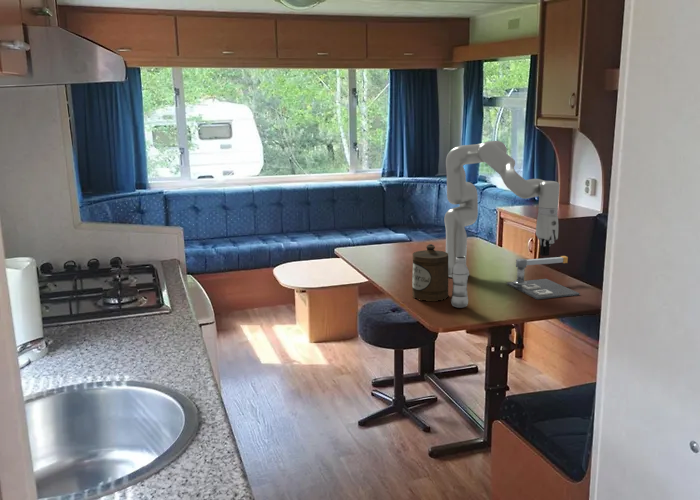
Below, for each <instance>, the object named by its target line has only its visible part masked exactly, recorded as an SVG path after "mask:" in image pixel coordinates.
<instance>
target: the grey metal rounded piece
mask: <svg viewBox="0 0 700 500" xmlns="http://www.w3.org/2000/svg"><path fill="white" fill-rule="evenodd" d="M516 268H517V270H516V271H517V272H516V279H515V280H513V281H512V282H513V283H514V284H516V285H527V281H528V280H525V269H526V268H518V267H516Z"/></svg>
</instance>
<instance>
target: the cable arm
mask: <svg viewBox="0 0 700 500" xmlns="http://www.w3.org/2000/svg"><path fill="white" fill-rule="evenodd" d="M568 260H569V257H568V256H566V255H560V256H558V257H557V256H555V257H543V258H530V259H525V258H516V259H515V267H516V268H525V269H526V268H527V266H535V265H549V264H550V265H551V264H559V263H562V264H568Z"/></svg>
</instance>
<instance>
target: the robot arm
mask: <svg viewBox="0 0 700 500" xmlns="http://www.w3.org/2000/svg"><path fill="white" fill-rule="evenodd" d="M507 152H508V149H507V146H506V144H505V143H504V142H502V141H500V140H490V141H489V140H488V141H484V142H482V143H477V144H476V143H475V144H462V145H459V146H454V148H452V149H450V151H449V152H448V153H447V155H446V158H445V168H446V169H445V170H446V171H445V172H446V198H447V200H448V202H449V204H451V205H459V206H457V207H455V206H454V207H453V208H450V209H448V210H447V211H446V212H445V214H444V220H443V221H444V227H445V252H446V253H448V278H452V268H453V266H454V265H455V264H456V262H455V261H456V257H458V256H462V257H465V258H466V259H465V261H466V262H465V265H466V266H467V248H468V247H467V245H468V235H467V231H466V228H465V227H468V226H471V225H474V224H475V223H476V221H477V220H478V214H479V210H478V206H479V205H478V198H479V197H478V196H479V195H478V190H477V187H476V186H475V184H474V183H472V182H469V181H467V180H466V177H467V176H466V175H467V174H466V171H465V169H464V168H465V167H464V166H465V165H473V164H481V163H485V164H487V166H489V167H490V168H491V169H493V170H494V171H495V173H497V174H498V175H499V176H500V177H501V179H502V182H503V184H504V185H505V187H506V188H507V189H508V190H509V191H511V192H512V193H513V194H514V195H516V196H517V197H518V198H520V199H524V200H525V199H526V200H527V199H531V198H537V197H538V198H539V199H538V213H537V218H536V226H535V236H536V237H537V240H539V245H540V251H539V254H540V255H541V256H542V257H543V256H544V257H545V256H549V255H550V248H551V245H553V244H555V241H556V240H557V241H558V239H559V217H558V212H559V211H558V210H559V198H560V183H559V182H558V181H556V180H555V181H554V180H543V179H541V178H529V179H525V178H523V176H521V175H520V174H519V173H518V172H517V171H516V169H515V165H516V161H515V159H514V158H513V157H511V156H510V154H508V153H507ZM469 276H470V272H469V273H468V277H469ZM452 279H453V278H452Z"/></svg>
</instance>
